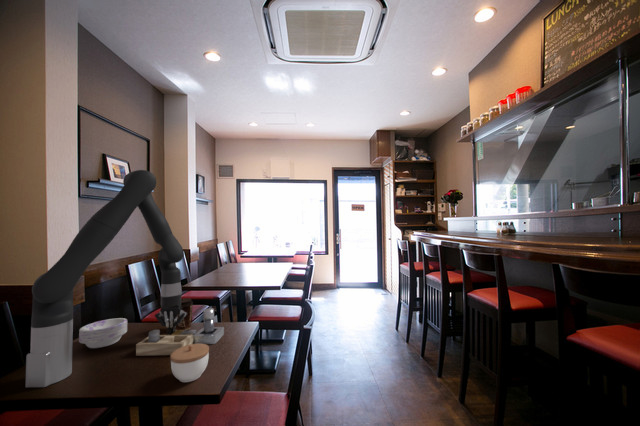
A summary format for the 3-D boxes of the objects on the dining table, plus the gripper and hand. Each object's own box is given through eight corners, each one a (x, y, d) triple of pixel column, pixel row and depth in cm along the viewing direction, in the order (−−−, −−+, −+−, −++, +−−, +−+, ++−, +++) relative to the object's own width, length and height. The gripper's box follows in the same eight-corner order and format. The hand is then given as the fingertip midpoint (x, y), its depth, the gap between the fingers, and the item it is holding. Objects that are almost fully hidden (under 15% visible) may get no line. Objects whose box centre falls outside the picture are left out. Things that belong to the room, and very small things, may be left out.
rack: (181, 354, 94) (181, 335, 95) (136, 355, 95) (136, 336, 95) (193, 344, 102) (193, 326, 103) (150, 345, 103) (150, 327, 103)
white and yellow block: (191, 341, 106) (191, 333, 106) (171, 341, 106) (171, 333, 106) (196, 336, 110) (196, 329, 110) (177, 337, 110) (177, 330, 110)
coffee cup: (173, 327, 122) (173, 299, 123) (193, 323, 125) (193, 296, 126) (171, 333, 114) (171, 303, 115) (192, 330, 118) (192, 301, 118)
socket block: (215, 343, 103) (215, 335, 103) (192, 344, 103) (192, 336, 103) (223, 334, 112) (223, 326, 112) (203, 334, 112) (203, 327, 112)
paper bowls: (99, 336, 114) (100, 318, 114) (135, 334, 114) (135, 316, 115) (67, 353, 98) (67, 331, 99) (108, 351, 99) (109, 330, 99)
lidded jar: (209, 364, 87) (209, 335, 88) (208, 381, 77) (208, 349, 78) (173, 371, 83) (173, 341, 84) (167, 391, 73) (167, 357, 74)
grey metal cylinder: (211, 341, 105) (211, 311, 106) (201, 341, 105) (201, 311, 106) (215, 337, 109) (215, 308, 110) (206, 337, 109) (206, 308, 110)
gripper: (149, 296, 105) (149, 340, 104) (181, 295, 105) (182, 339, 104) (161, 291, 113) (161, 332, 112) (191, 291, 113) (191, 331, 112)
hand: (171, 335), depth 108 cm, fingers closed
